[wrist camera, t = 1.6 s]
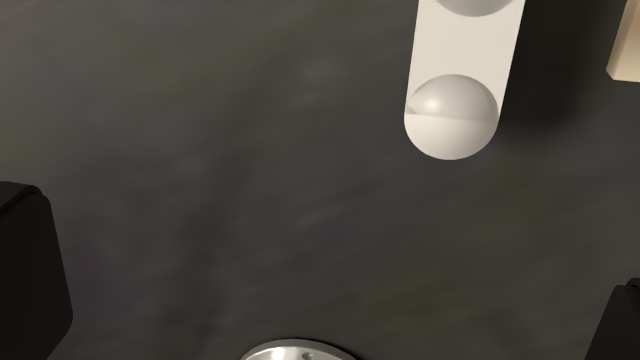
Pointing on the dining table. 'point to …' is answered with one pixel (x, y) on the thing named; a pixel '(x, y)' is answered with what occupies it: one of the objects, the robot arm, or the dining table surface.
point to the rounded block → (459, 73)
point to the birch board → (627, 46)
